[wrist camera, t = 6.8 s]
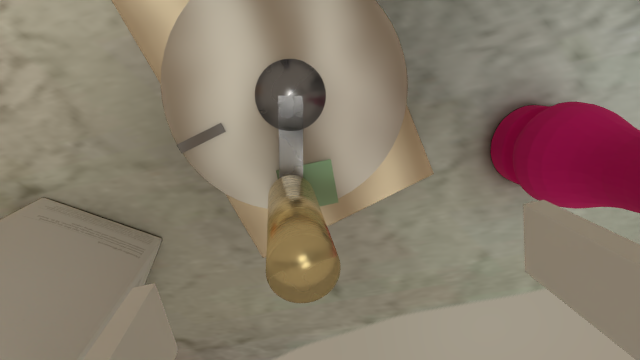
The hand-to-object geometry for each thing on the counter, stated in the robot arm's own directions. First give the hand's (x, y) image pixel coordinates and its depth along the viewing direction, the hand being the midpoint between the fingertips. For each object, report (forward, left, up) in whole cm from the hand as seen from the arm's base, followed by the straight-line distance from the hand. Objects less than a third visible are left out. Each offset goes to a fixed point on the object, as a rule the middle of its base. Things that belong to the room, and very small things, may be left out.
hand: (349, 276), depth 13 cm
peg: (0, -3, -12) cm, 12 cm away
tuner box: (-1, -6, -16) cm, 17 cm away
